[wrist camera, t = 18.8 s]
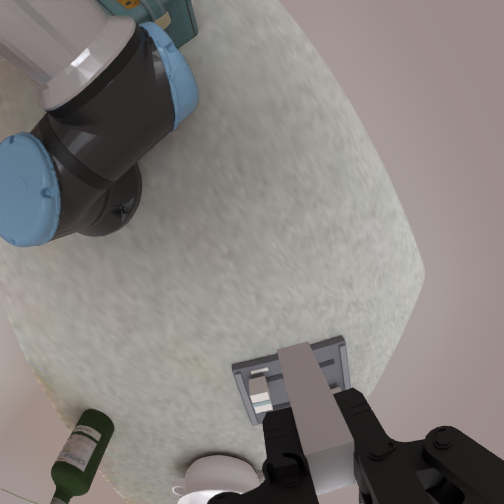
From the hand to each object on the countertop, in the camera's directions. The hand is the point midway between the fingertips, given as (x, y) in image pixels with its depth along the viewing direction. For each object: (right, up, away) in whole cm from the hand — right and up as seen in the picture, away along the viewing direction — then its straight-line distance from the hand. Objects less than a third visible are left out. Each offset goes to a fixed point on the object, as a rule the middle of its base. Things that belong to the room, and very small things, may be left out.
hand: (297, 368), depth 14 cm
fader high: (-1, -17, +36) cm, 40 cm away
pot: (-9, -45, +44) cm, 64 cm away
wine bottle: (-36, -32, +40) cm, 63 cm away
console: (+6, -18, +39) cm, 44 cm away
